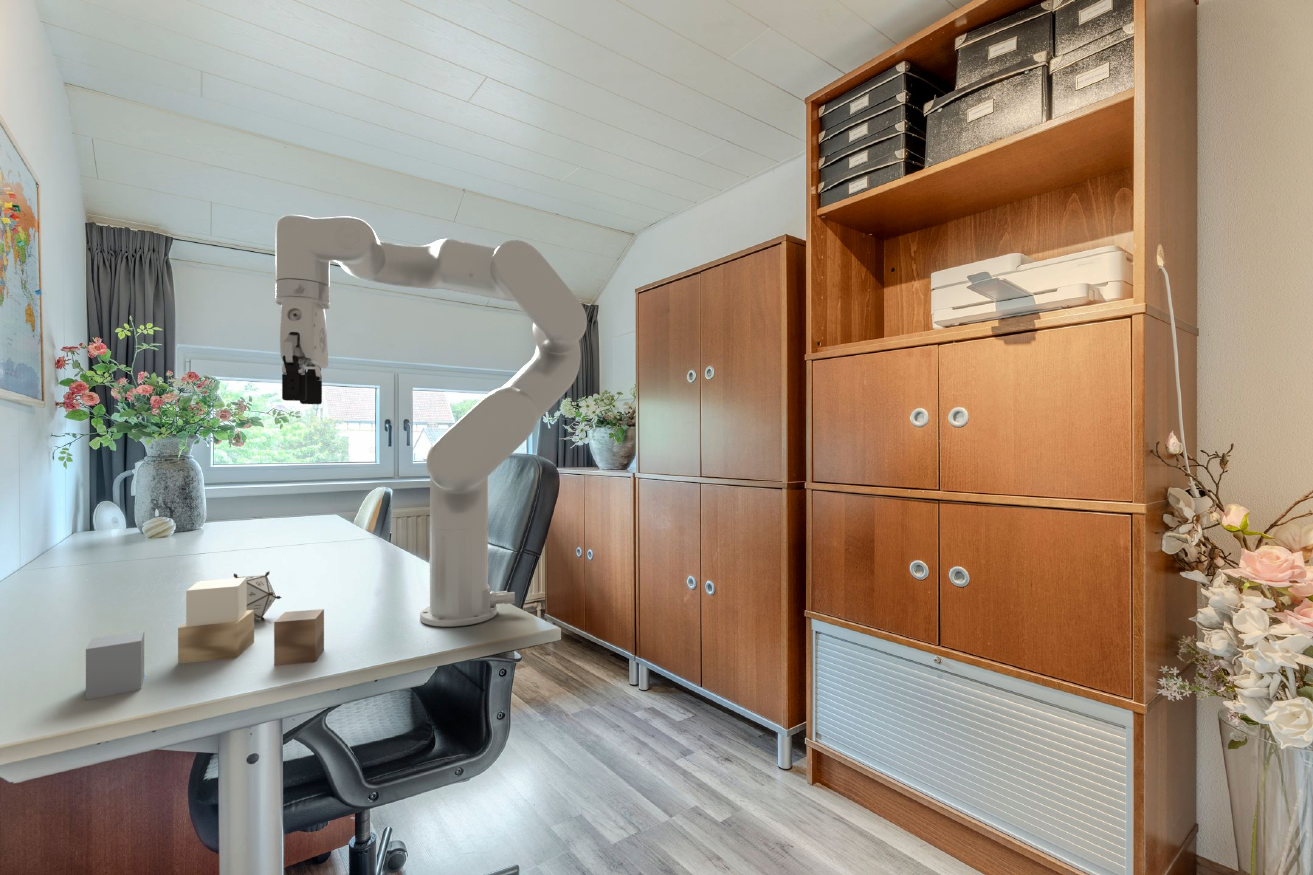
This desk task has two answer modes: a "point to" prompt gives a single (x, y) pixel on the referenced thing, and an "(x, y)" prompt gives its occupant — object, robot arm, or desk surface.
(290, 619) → the walnut block
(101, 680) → the slate block
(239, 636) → the tower base
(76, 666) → the desk surface
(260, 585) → the game die
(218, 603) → the tower top
